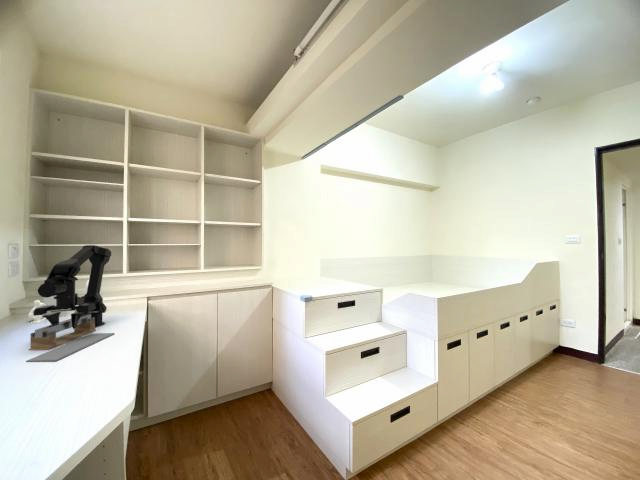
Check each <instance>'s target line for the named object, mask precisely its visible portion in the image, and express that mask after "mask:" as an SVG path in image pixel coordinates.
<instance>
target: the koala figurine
mask: <svg viewBox="0 0 640 480" xmlns="http://www.w3.org/2000/svg"><path fill="white" fill-rule="evenodd" d="M33 304H34V306H33V308H32V309H30V311H29V313H28V319H29V320H33V321H31V323H32V322H33V323H41V322H44V321H46V320H47V319H46V318H45V317H42V316H43V315H44V314H43V315H36V316H34V315H33V311H34V310H35V309H36V308H39V307H42V306H46V304H44V302H41V301H40V300H39V299H37V300H33ZM33 323H32V324H33Z"/></svg>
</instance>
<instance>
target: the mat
mask: <svg viewBox="0 0 640 480" xmlns="http://www.w3.org/2000/svg"><path fill="white" fill-rule="evenodd" d="M114 335H115V333H114V332H107V333H106V332H103V333H101V332H100V333H99V332H97V333H96V332H92V333H90V334H87V335H85V336H82V337H80V338H77V339H75V340H73V341H70V342H68V343H65V344H63V345H60V346H58V347H55V348H53V349H50V350H47V351H46V352H44V353H41V354H39V355H37V356H34V357H31V358H29V359H27V360H25V362H26V363H55V362H56V363H57V362H58V361H61V360H63V359H65V358H68V357H69V356H71V355H74V354H75V353H78V352H79V351H81V350H85V349H86V348H89V347H91V346H93V345H95V344H97V343H99V342H101V341H103V340H105V339H108V338H110V337H112V336H114Z"/></svg>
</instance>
